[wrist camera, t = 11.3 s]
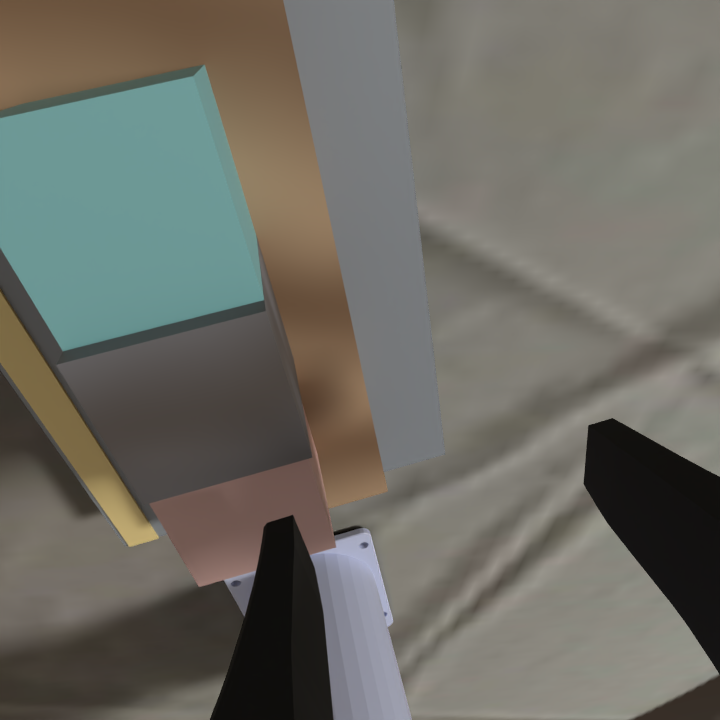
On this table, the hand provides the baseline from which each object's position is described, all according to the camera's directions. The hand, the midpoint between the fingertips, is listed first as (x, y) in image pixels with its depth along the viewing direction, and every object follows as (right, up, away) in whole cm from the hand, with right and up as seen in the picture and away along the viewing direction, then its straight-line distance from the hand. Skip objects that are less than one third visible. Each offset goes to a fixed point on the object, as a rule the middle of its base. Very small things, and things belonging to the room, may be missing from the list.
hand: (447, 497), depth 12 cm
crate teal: (-7, +8, 0) cm, 10 cm away
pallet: (-7, +5, +4) cm, 10 cm away
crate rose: (-6, +1, +5) cm, 8 cm away
